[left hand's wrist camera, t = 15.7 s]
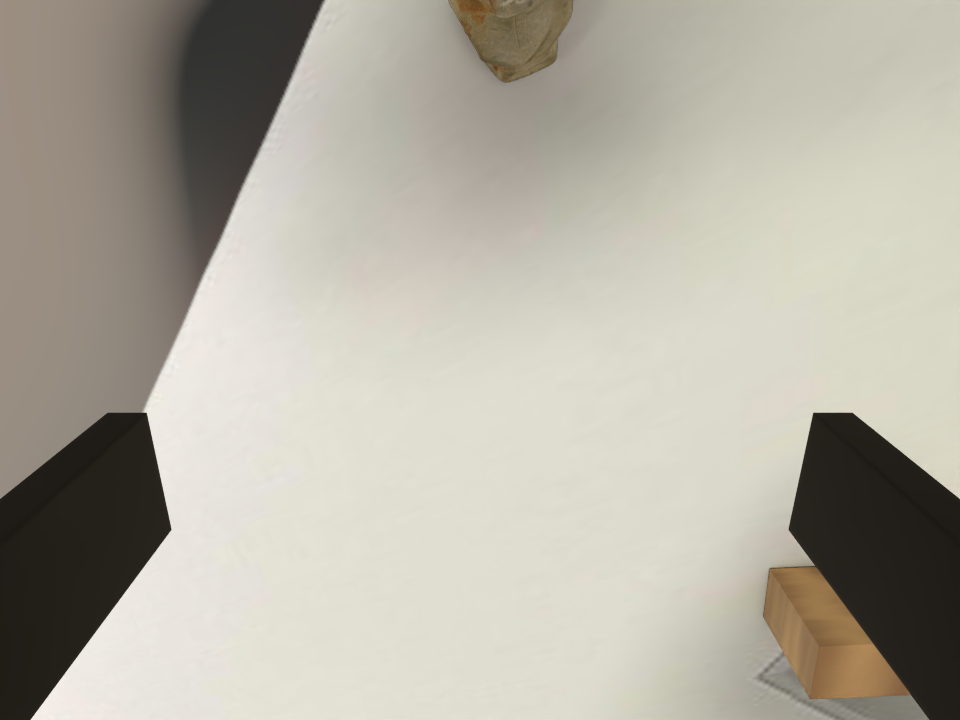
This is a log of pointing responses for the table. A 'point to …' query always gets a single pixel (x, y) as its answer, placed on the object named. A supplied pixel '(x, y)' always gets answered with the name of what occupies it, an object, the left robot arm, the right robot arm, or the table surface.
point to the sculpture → (514, 32)
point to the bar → (824, 638)
